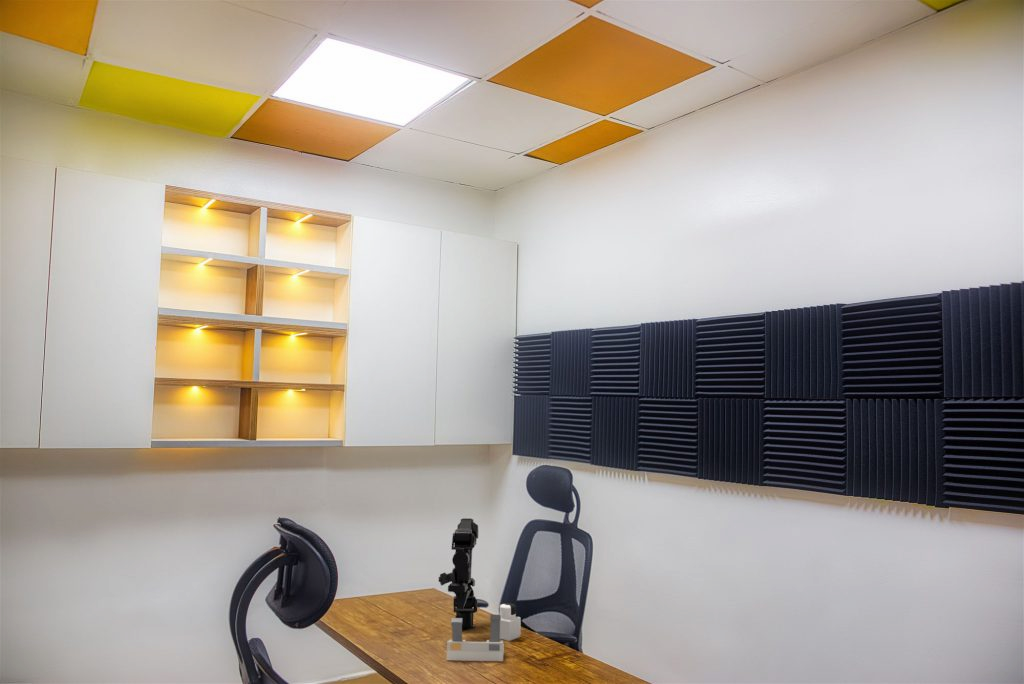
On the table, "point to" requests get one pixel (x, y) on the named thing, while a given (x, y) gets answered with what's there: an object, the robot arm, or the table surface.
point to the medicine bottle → (509, 622)
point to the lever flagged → (456, 629)
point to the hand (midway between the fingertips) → (461, 609)
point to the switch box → (475, 651)
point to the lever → (495, 628)
